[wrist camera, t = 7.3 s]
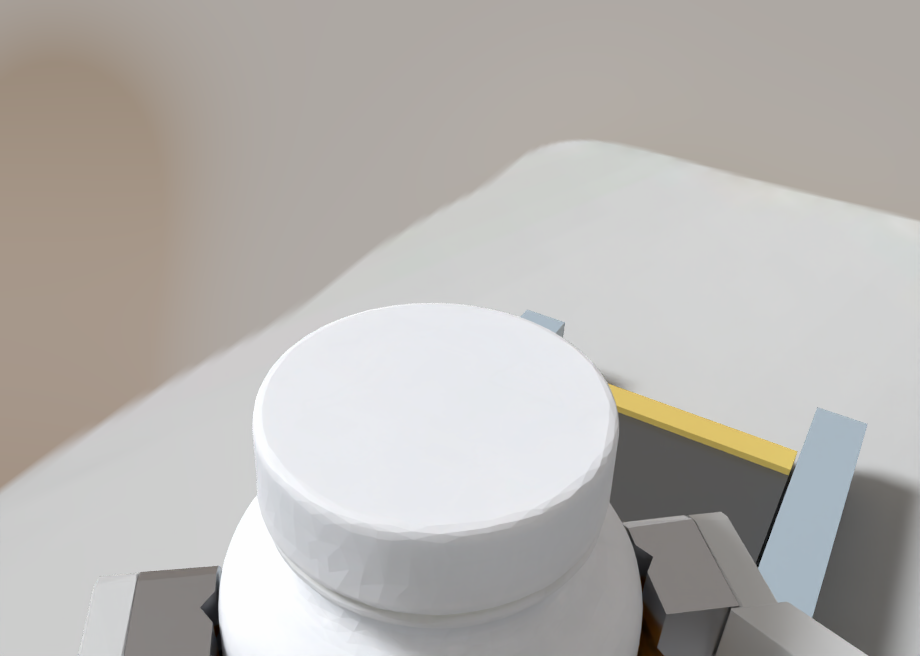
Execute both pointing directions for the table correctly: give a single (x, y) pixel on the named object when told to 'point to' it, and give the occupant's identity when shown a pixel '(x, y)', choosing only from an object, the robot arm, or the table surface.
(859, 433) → the channel
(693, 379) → the table surface
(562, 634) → the supplement bottle
